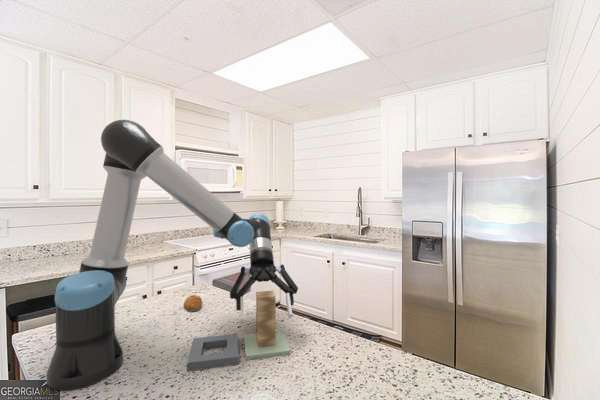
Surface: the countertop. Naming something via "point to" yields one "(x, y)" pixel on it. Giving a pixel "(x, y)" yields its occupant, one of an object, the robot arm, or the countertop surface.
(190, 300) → the pastry
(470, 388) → the countertop surface
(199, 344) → the pocket frame
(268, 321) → the oak peg
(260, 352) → the rubber pad
